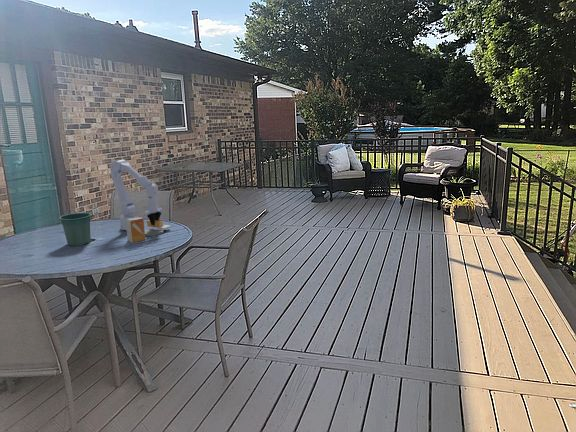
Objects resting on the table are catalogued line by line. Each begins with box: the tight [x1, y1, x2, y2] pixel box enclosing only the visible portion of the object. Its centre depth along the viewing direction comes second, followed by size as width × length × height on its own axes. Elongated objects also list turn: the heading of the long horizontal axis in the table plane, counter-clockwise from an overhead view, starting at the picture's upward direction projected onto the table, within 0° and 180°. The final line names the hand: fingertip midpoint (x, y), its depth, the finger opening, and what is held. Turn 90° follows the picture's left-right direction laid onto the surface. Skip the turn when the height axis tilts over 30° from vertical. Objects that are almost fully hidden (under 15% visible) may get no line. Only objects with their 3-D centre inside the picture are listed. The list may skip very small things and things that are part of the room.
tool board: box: [144, 228, 165, 238], centre depth 270 cm, size 20×10×1 cm, turn 65°
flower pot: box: [59, 212, 92, 247], centre depth 251 cm, size 16×16×16 cm
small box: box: [126, 216, 146, 243], centre depth 254 cm, size 8×6×13 cm
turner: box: [146, 219, 172, 230], centre depth 277 cm, size 15×7×4 cm, turn 65°
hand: (154, 224), depth 278 cm, fingers closed on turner, 3 cm apart
